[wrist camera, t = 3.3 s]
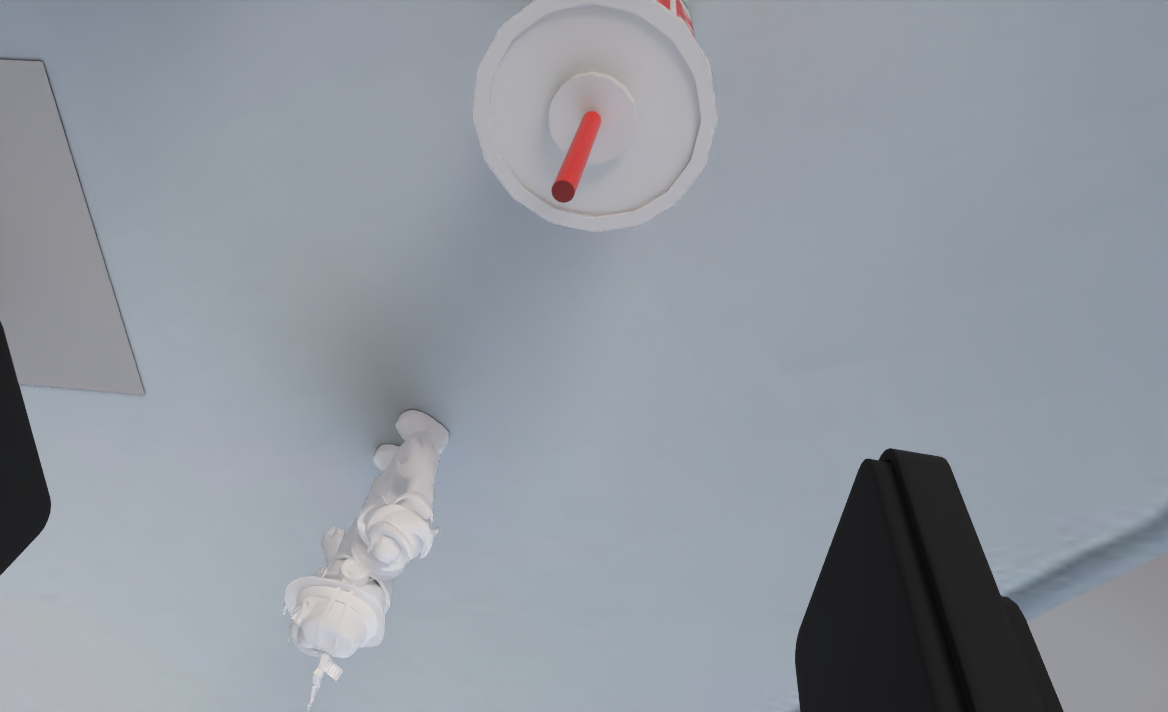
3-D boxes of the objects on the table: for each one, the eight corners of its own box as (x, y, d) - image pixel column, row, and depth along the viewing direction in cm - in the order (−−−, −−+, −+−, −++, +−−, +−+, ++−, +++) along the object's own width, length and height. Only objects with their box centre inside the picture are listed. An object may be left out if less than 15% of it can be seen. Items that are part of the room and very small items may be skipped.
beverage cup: (497, 38, 29) (353, 184, 18) (625, -106, 27) (555, -48, 15) (623, 164, 31) (568, 374, 19) (755, 41, 28) (785, 198, 17)
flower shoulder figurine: (403, 522, 42) (306, 745, 32) (334, 480, 41) (211, 695, 31) (503, 409, 38) (426, 625, 28) (428, 359, 37) (320, 564, 27)
